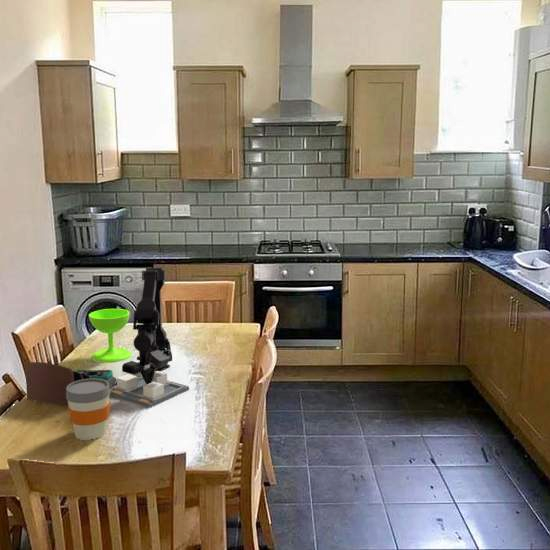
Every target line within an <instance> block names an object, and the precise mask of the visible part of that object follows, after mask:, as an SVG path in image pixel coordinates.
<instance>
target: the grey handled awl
mask: <svg viewBox="0 0 550 550" xmlns="http://www.w3.org/2000/svg"><path fill="white" fill-rule="evenodd" d="M106 381H108V383H109V388H111V387H112V386H113V385H115V384H116V383H117V378H116V377H115V376H113V377H111V378H109V379H108V380H106Z"/></svg>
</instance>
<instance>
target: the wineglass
mask: <svg viewBox="0 0 550 550" xmlns="http://www.w3.org/2000/svg"><path fill="white" fill-rule="evenodd" d="M88 319H89V321H90V323H91V325H92V327H93V328H94V329H95V330H96V331H99V332H100V333H104V334H107V337H108V347H107V348H104V349H103V348H102V349H101V350H100V349H99V350H97V351H96V352H94V353H93V354H92V355H91V360H92V359H94V360H96V361H95V362H97V361H100V362H99V363H103V362H110V363H118V362H121V361H125V360H128V359H130V358H131V357H132V352H131V351H130V350H129V349H126V348H120V347H114V345H115V344H114V333H117V332H120V331H121V330H122V329H123V328H125V327H126V325H127V324H128V321H129V319H130V311H129V310H127V309H123V308H106V309H105V308H104V309H98V310H95V311H92V312H90V313H88ZM94 360H93V361H94Z"/></svg>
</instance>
